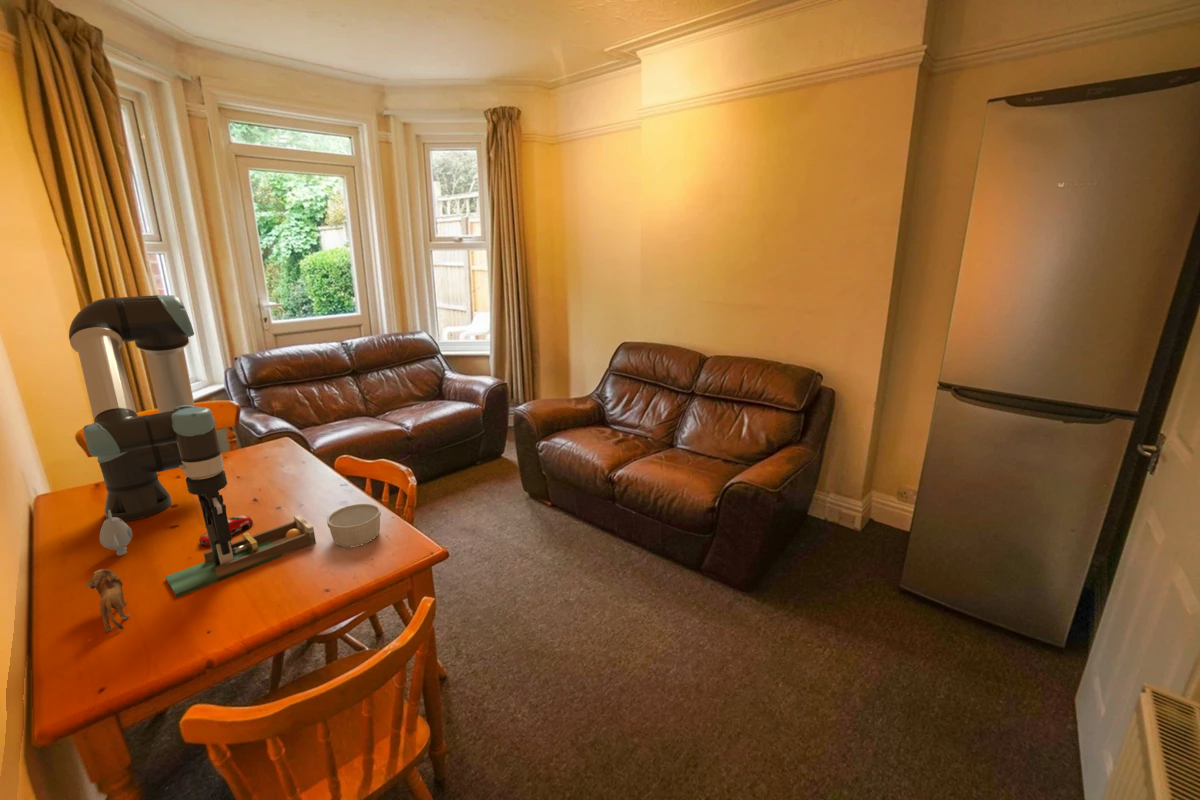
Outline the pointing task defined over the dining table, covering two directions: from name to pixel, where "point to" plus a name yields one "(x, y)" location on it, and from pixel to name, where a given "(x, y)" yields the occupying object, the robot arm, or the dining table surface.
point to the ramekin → (354, 524)
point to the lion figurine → (109, 595)
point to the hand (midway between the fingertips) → (224, 560)
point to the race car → (231, 528)
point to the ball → (292, 533)
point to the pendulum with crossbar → (249, 545)
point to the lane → (243, 557)
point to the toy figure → (115, 534)
